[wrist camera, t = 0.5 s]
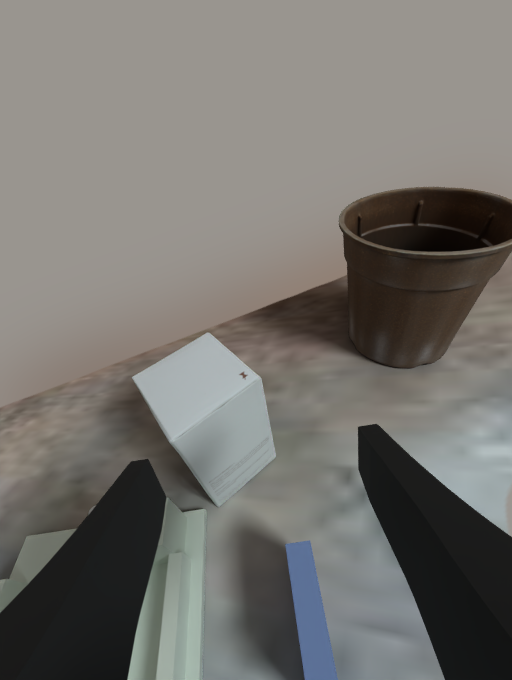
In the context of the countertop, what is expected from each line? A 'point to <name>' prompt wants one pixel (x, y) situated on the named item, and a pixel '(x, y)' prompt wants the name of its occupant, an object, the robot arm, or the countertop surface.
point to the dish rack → (148, 595)
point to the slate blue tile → (310, 614)
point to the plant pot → (419, 267)
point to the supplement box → (211, 414)
